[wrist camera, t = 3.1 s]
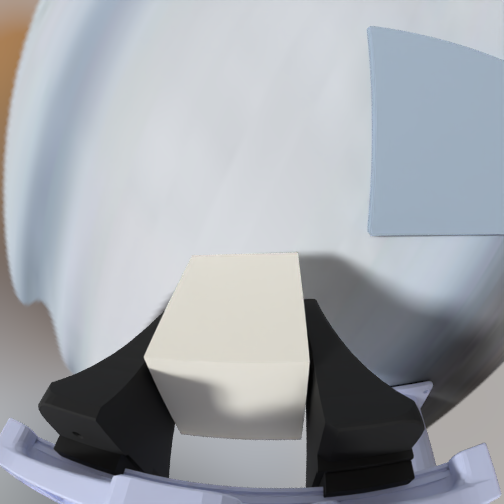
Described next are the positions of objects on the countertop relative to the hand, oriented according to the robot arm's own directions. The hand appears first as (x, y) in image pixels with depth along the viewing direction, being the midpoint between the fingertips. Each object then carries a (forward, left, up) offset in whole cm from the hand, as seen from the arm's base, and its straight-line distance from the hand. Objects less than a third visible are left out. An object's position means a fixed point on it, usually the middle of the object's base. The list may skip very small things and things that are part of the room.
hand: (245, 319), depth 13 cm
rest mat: (+7, -11, -4) cm, 14 cm away
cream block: (0, 0, -2) cm, 2 cm away
